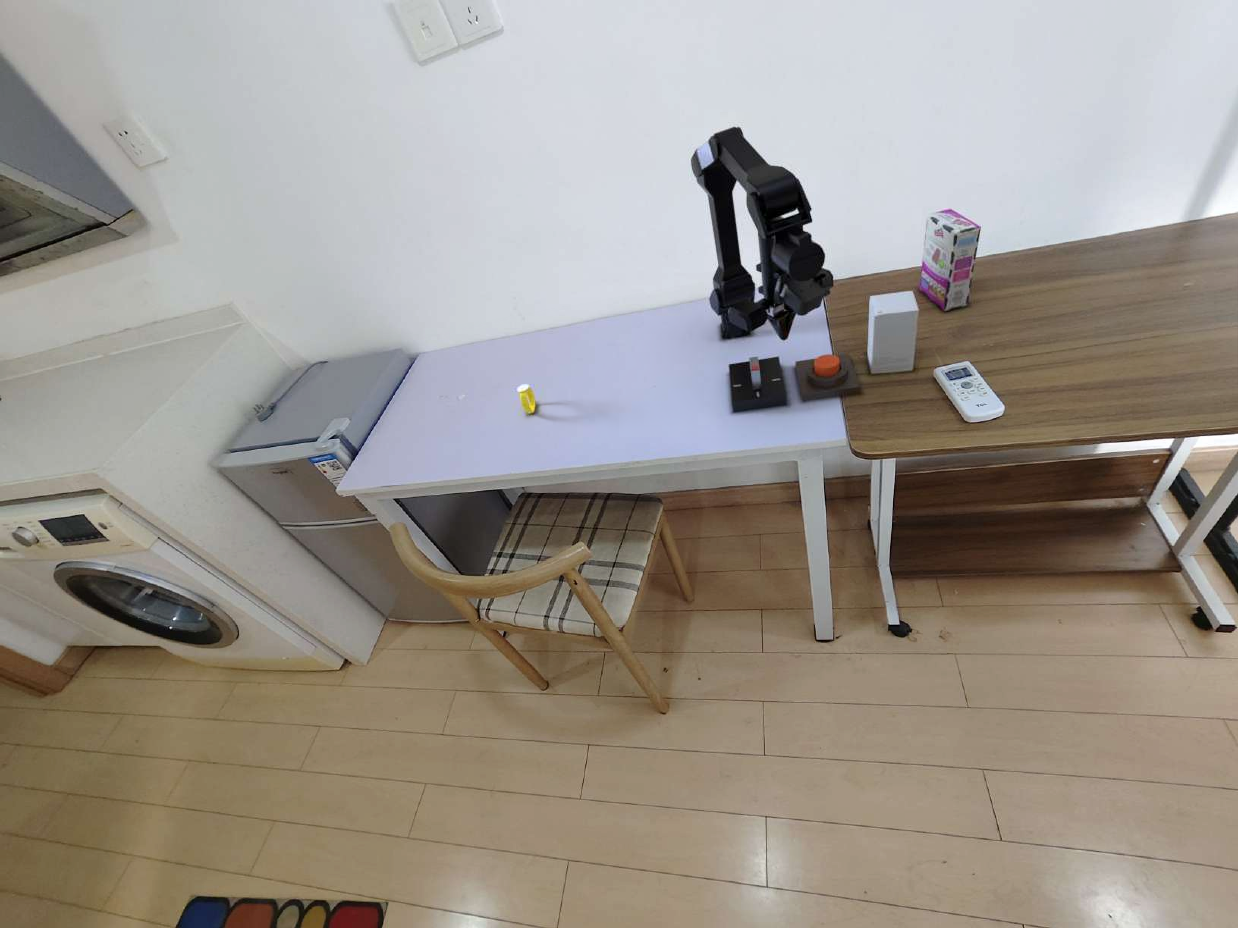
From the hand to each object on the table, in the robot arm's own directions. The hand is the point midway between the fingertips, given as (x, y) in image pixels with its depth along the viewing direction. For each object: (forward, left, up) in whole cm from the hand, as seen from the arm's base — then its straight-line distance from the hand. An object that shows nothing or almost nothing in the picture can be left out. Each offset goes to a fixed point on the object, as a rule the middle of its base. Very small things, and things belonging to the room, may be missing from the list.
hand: (783, 339), depth 105 cm
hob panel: (-1, -6, -11) cm, 13 cm away
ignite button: (0, +7, -8) cm, 11 cm away
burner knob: (0, -6, -9) cm, 10 cm away
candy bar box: (-24, +34, -12) cm, 43 cm away
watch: (-6, -55, -12) cm, 56 cm away
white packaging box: (-4, +19, -12) cm, 23 cm away
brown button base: (-1, +7, -11) cm, 14 cm away
